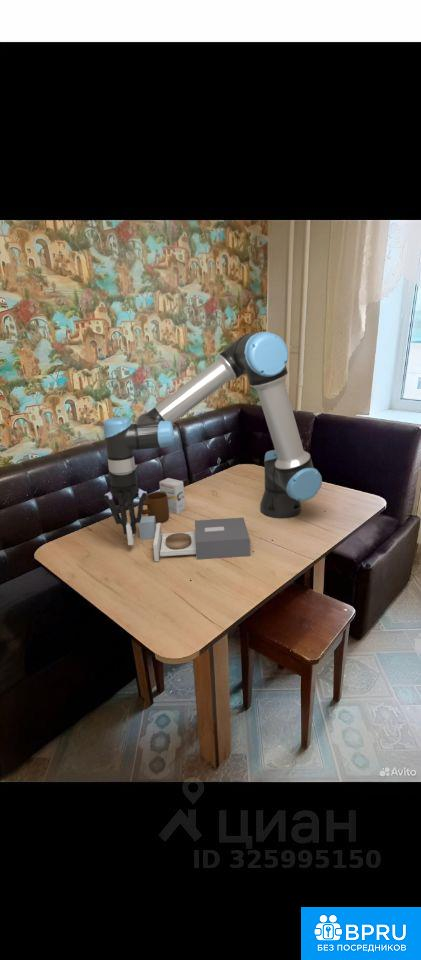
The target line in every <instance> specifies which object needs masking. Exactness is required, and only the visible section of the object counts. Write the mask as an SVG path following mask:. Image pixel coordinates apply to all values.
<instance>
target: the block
mask: <svg viewBox="0 0 421 960" xmlns="http://www.w3.org/2000/svg"><path fill="white" fill-rule="evenodd" d="M156 526H157V523H156V521H155V516H148V515H146V516H141V521H140V523H138V530H139V539H140V540H149V539H151V540H152V539H153V540H154V538H155V532H156Z"/></svg>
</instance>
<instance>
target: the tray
mask: <svg viewBox="0 0 421 960" xmlns="http://www.w3.org/2000/svg"><path fill="white" fill-rule="evenodd" d="M176 533H177V532H169V533H168V532H167V533H163V532H162V523H156V532H155V538H154V539H153V544H152V551H153V554H154V555H153V556H154V562H160V557H173V556H186V555H188V556H189V555H196V541H195V531H187V532H182V533H185V534H188V535H190V536H191V542H192V543H191V545H190V546H189V547H187V548H185V549H179V550H173V549H169V548H168V547H167V546H166V538H167V537H168V536H169V535H172V534H176Z"/></svg>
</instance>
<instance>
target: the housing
mask: <svg viewBox="0 0 421 960" xmlns="http://www.w3.org/2000/svg"><path fill="white" fill-rule="evenodd" d="M245 521H246V520H245V518H244V517H235V518H234V517H232V518H231V517H228V518H227V517H226V518H218V519H216V518H215V519H213V518H212V519H199V520H194V532H195V541H196V554H195V555H196V560H197V561H198V560H210V559H223V558H227V559H228V558H239V557H240V558H241V557H250V556H251V537H250V535H249V532H248V528H247V525H246V522H245Z"/></svg>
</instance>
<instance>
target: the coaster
mask: <svg viewBox="0 0 421 960" xmlns="http://www.w3.org/2000/svg"><path fill="white" fill-rule="evenodd" d="M175 533H176V534H172V535H169V536H168V537H167V538H166V546H167V547H168V548H169V549H173V550H179V549H185V548H187V547H189V546H190V545H191V543H192V542H191V536H190V535H188V534H185V533H183V532H175Z"/></svg>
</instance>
